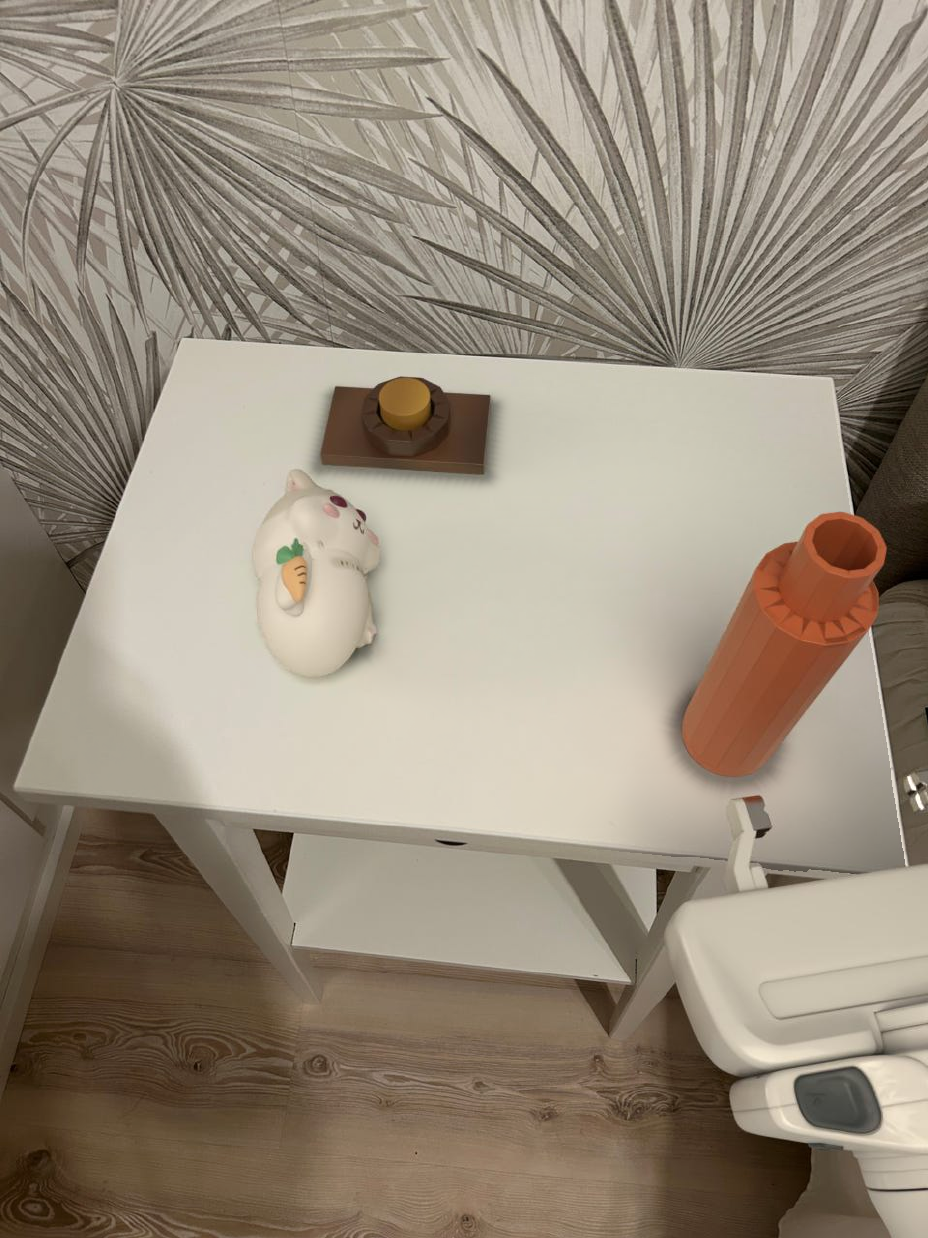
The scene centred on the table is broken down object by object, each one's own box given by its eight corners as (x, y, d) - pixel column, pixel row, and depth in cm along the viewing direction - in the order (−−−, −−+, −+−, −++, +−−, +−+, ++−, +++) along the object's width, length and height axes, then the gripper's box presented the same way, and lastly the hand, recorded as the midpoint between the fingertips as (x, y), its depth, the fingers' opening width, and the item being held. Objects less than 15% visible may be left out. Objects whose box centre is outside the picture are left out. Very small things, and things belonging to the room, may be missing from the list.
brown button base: (490, 404, 75) (491, 378, 72) (483, 474, 71) (483, 449, 68) (336, 395, 75) (331, 369, 73) (322, 464, 72) (316, 439, 69)
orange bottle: (756, 688, 61) (883, 484, 42) (785, 770, 58) (935, 590, 39) (671, 700, 61) (760, 499, 42) (695, 783, 58) (803, 608, 39)
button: (433, 394, 72) (432, 378, 70) (428, 432, 70) (427, 416, 68) (384, 391, 72) (382, 375, 70) (377, 429, 70) (375, 413, 68)
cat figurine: (312, 636, 53) (307, 426, 59) (213, 670, 56) (217, 469, 62) (404, 676, 60) (391, 487, 66) (312, 704, 64) (307, 522, 70)
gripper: (1225, 1045, 36) (1062, 733, 43) (737, 1131, 35) (649, 795, 42) (1128, 1057, 42) (996, 778, 49) (702, 1132, 40) (629, 834, 47)
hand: (832, 786), depth 45 cm, fingers open, 8 cm apart
